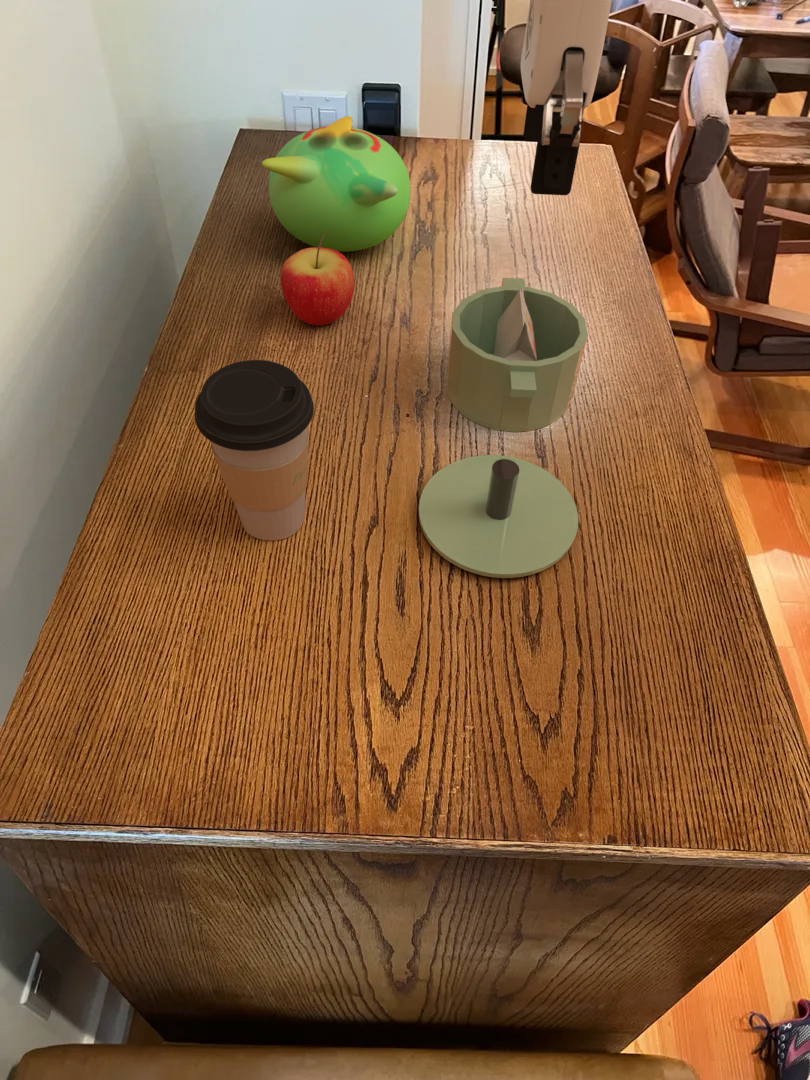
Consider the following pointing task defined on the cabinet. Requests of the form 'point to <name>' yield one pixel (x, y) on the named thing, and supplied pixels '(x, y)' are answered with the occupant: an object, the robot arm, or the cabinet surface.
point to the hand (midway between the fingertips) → (545, 165)
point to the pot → (509, 385)
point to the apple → (317, 284)
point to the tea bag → (515, 332)
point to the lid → (498, 516)
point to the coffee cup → (259, 442)
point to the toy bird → (339, 187)
